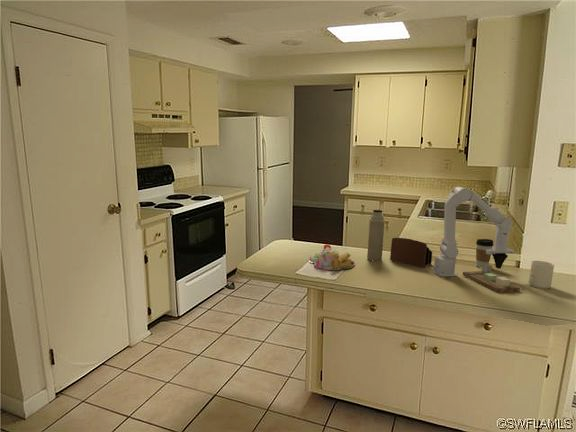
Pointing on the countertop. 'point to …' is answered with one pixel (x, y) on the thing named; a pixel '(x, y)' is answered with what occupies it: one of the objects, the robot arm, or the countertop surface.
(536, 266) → the mug
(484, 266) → the slider knob
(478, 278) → the brown flat board
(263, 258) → the countertop surface
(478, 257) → the coffee cup
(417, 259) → the letter holder
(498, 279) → the beige cube
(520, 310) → the countertop surface
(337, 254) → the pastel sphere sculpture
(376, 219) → the thermos bottle
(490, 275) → the sage green cube
